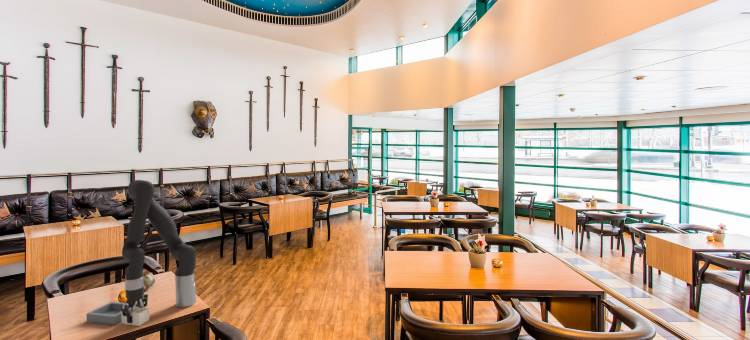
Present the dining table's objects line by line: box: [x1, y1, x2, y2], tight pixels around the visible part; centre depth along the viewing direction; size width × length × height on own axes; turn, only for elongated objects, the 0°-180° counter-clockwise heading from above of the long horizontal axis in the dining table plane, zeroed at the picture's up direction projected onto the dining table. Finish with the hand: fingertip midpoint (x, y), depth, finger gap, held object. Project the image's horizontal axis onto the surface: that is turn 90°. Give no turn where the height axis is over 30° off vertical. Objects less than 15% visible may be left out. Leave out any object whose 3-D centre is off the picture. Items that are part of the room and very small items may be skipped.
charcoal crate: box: [85, 301, 126, 326], centre depth 186 cm, size 14×16×4 cm
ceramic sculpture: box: [143, 272, 156, 291], centre depth 223 cm, size 11×9×15 cm
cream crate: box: [121, 307, 150, 327], centre depth 181 cm, size 6×10×6 cm, turn 80°
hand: (135, 319), depth 181 cm, fingers closed on cream crate, 6 cm apart
